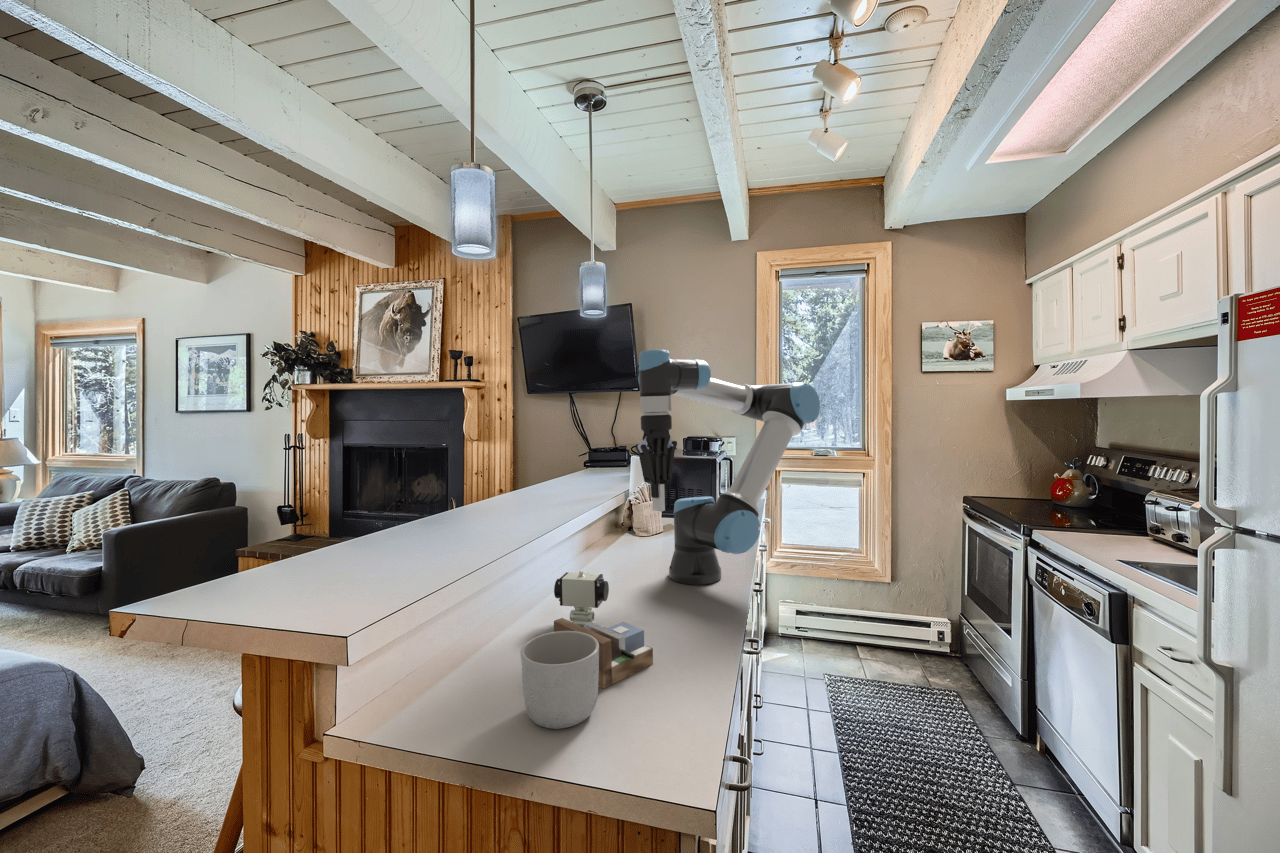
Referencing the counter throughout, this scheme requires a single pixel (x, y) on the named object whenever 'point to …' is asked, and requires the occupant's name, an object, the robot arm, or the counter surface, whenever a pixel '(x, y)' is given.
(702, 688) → the counter surface
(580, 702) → the planter
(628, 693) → the counter surface
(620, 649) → the grey flat panel
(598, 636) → the gauge frame
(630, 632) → the blue block
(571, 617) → the pneumatic valve
